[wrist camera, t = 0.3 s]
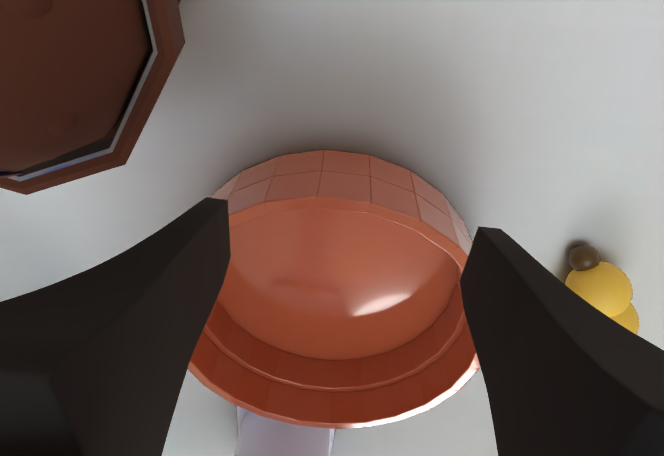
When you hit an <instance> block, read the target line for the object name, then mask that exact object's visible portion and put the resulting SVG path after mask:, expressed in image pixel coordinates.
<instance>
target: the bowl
mask: <svg viewBox="0 0 664 456" xmlns="http://www.w3.org/2000/svg"><path fill="white" fill-rule="evenodd" d="M211 198H216V199H225V200H228V213H229V232H230V251H231V257H230V261H229V265H228V268H227V272H226V275H225V279H224V282H223V285H222V288H221V290H220V293H219V295H218V297H217V299H216V302H215V304H214V306H213V309H212V311H211V313H210V315H209V318H208V320H207V322H206V324H205V327H204V329H203V331H202V333H201V336H200V338H199V340H198V342H197V345H196V347H195V349H194V352H193V354H192V357H191V359H190V362H189V365H188V368H187V369H188V370H189V371H190V372H191V373H192V374H193V375H194V376H195V377H196V378H197V379H198V380H199V381H200V382H201V383H202V384H203V385H204V386H206V387H207V388H209V389H210V390H212V391H213V392H215V393H216V394H218V395H219V396H221V397H222V398H224V399H225V400H227V401H228V402H231V403H232V404H234V405H237V406H239V407H241V408H243V409H246V410H248V411H250V412H253V413H255V414H257V415H260V416H262V417H266V418H270V419H274V420H277V421H281V422H285V423H289V424H293V425H299V426H308V427H317V428H327V429H330V428H331V429H340V428H364V427H370V426H376V425H381V424H386V423H391V422H396V421H401V420H403V419H406V418H409V417H411V416H414V415H416V414H419V413H422V412H424V411H427V410H429V409H432V408H433V407H435V406H436V405H438V404H439V403H441V402H443V401H444V400H446V399H447V398H449V397H450V396H452V395H454V394H455V393H457V392H458V391H459V390H460V389H461V388H462V387H463V386H464V385H465V384H466V383H467V381H468V380H469V379H470V378H471V377H472V376H473V375H474V374H475V373H476V372H477V371H478V370H479V368H480V363H479V360H478V357H477V353H476V350H475V347H474V343H473V340H472V337H471V333H470V330H469V326H468V323H467V320H466V316H465V312H464V308H463V301H462V295H461V287H460V278H461V275H462V272H463V270H464V267H465V264H466V261H467V258H468V255H469V253H470V250H471V247H472V241H471V239H470V236H469V233H468V230H467V228H466V225H465V223H464V221H463V220H462V218H461V217H460V216H459V214H458V213H457V212H456V211H455V209H454V208H453V207H452V205H451V204H450V203H449V201H448V200H447V199H446V197H445V196H444V195H443V194H442V193H441V192H440V191H438V190H437V189H435V188H434V187H433V186H431V185H430V184H428V183H427V182H426V181H424V180H423V179H421V178H420V177H419V176H417V175H416V174H415V173H413V172H412V171H409V170H408V169H405V168H403V167H400V166H397V165H395V164H392V163H389V162H387V161H384V160H381V159H379V158H376V157H373V156H371V155H366V154H358V153H349V152H340V151H332V150H318V151H310V152H303V153H295V154H287V155H281V156H278V157H276V158H273V159H271V160H268V161H266V162H263V163H261V164H258V165H256V166H253V167H251V168H249V169H246V170H244V171H241V172H240V173H239V174H237V175H236V176H235V177H234V178H232V179H231V180H230V181H229V182H227V183H226V184H225V185H224V186H222V187H221V188H220V189H219V190H217V191H216V192H215V193H214V194H213V195H212V197H211Z"/></svg>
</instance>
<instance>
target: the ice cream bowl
mask: <svg viewBox="0 0 664 456" xmlns="http://www.w3.org/2000/svg"><path fill="white" fill-rule="evenodd" d="M179 2H180V0H0V188H4V189H7V190H11V191H14V192H18V193H21V194H25V195H27V194H31V193H34V192H37V191H40V190H44V189H47V188H50V187H53V186H57V185H60V184H63V183H66V182H70V181H73V180H76V179H79V178H83V177H86V176H89V175H92V174H96V173H99V172H102V171H105V170H109V169H112V168H115V167H118V166H122V165H125V164H126V162H127V160H128V158H129V156H130V154H131V152H132V150H133V148H134V146H135V144H136V142H137V140H138V138H139V136H140V134H141V132H142V130H143V128H144V126H145V124H146V122H147V120H148V118H149V116H150V114H151V111H152V109H153V107H154V105H155V103H156V101H157V99H158V97H159V95H160V93H161V91H162V89H163V87H164V85H165V83H166V81H167V79H168V76H169V74H170V72H171V70H172V68H173V66H174V64H175V62H176V60H177V58H178V56H179V54H180V52H181V50H182V48H183V46H184V44H185V39H184V33H183V28H182V23H181V17H180V12H179V6H178V4H179Z"/></svg>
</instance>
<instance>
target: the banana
mask: <svg viewBox="0 0 664 456" xmlns="http://www.w3.org/2000/svg"><path fill="white" fill-rule="evenodd" d="M568 261H569V264H570V265H571V267H572V268H573V270H572V271H571V272H570V273H569V274H568V276H567V278H566V281H565V285H566V286H567V287H569V288H570V289H571V290H572V291H574V292H575V293H576V294H577V295H579V296H580V297H581V298H583V299H584V300H585V301H587V302H588V303H589V304H591V305H592V306H593V307H595V308H596V309H598V310H599V311H601V312H602V313H604V314H605V315H607V316H608V317H610V318H611V319H612V320H614V321H615V322H617V323H618V324H620V325H622V326H623V327H625V328H626V329H628V330H629V331H631V332H633V333H634V334H636V335H637V333H638V329H639V318H638V315H637V312H636V309H635V308H634V306H633V305H632V303H631V300H632V292H633V290H632V285H631V283H630V280H629V279H628V277H627V276H626V274H625V273H624V272H623V271H622V270H620V269H619V268H618V267H616V266H614V265H612V264H610V263H606V262H601V261H600V256H599V254H598V252H597V251H596V250H595V249H594V248H592V247H590V246H587V245H580V246H577V247H575V248H573V249H572V250H571V251H570V253H569V256H568Z"/></svg>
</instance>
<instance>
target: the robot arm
mask: <svg viewBox="0 0 664 456" xmlns="http://www.w3.org/2000/svg"><path fill="white" fill-rule="evenodd" d="M230 257H231V251H230V232H229V213H228V200H225V199H216V198H205V199H203V200H202V201H200V202H199V203H198V204H196V205H195V206H193V207H192V208H191V209H189V210H188V211H186V212H185V213H184V214H182V215H181V216H179V217H178V218H176V219H175V220H174V221H172V222H171V223H169V224H168V225H166V226H165V227H163V228H162V229H161V230H159V231H157V232H156V233H154V234H153V235H151V236H149V237H148V238H146V239H145V240H143V241H141V242H140V243H138V244H136V245H135V246H133V247H132V248H130V249H128V250H126V251H125V252H123V253H121V254H119V255H117V256H115V257H113V258H111V259H109V260H107V261H105V262H103V263H101V264H99V265H97V266H95V267H93V268H91V269H89V270H86V271H84V272H81V273H79V274H77V275H74V276H72V277H69V278H67V279H65V280H62V281H60V282H57V283H55V284H52V285H50V286H47V287H44V288H41V289H39V290H36V291H33V292H30V293H27V294H24V295H21V296H18V297H15V298H12V299H9V300H5V301H2V302H0V456H161V455H162V452H163V448H164V444H165V441H166V437H167V434H168V430H169V427H170V423H171V420H172V416H173V413H174V410H175V406H176V403H177V400H178V396H179V393H180V390H181V387H182V384H183V381H184V377H185V374H186V371H187V368H188V365H189V362H190V359H191V357H192V354H193V352H194V349H195V347H196V345H197V342H198V340H199V338H200V336H201V333H202V331H203V329H204V327H205V324H206V322H207V320H208V318H209V315H210V313H211V311H212V309H213V306H214V304H215V302H216V299H217V297H218V295H219V293H220V290H221V288H222V285H223V282H224V279H225V275H226V272H227V268H228V265H229V261H230ZM460 287H461V295H462V301H463V308H464V312H465V316H466V320H467V323H468V326H469V330H470V333H471V337H472V340H473V343H474V347H475V350H476V353H477V357H478V360H479V363H480V367H481V370H482V373H483V377H484V380H485V384H486V388H487V392H488V397H489V403H490V408H491V414H492V419H493V424H494V431H495V437H496V443H497V450H498V456H664V350H662V349H660V348H658V347H657V346H655V345H653V344H651V343H650V342H648V341H646V340H645V339H643V338H641V337H639V336H638V335H636V334H634V333H633V332H631V331H629V330H628V329H626V328H625V327H623V326H622V325H620V324H618V323H617V322H615V321H614V320H612V319H611V318H610V317H608V316H607V315H605V314H604V313H602V312H601V311H599V310H598V309H596V308H595V307H593V306H592V305H591V304H589V303H588V302H587V301H585V300H584V299H583V298H581V297H580V296H579V295H577V294H576V293H575V292H574V291H572V290H571V289H570V288H569V287H567V286H566V285H565V284H563V283H562V282H561V281H560V280H559V279H557V278H556V277H555V276H554V275H553V274H551V273H550V272H549V271H548V270H547V269H546V268H545V267H543V266H542V265H541V264H540V263H539V262H538V261H537V260H535V259H534V258H533V257H532V256H531V255H530V254H529V253H528V252H526V251H525V250H524V249H523V248H522V247H521V246H520V245H519V244H518V243H516V242H515V241H514V240H513V239H512V238H511V237H509V236H508V235H507V234H506V233H505V232H503V231H502V230H501V229H496V228H487V227H478V230H477V233H476V235H475V238H474V241H473V244H472V247H471V250H470V253H469V255H468V258H467V261H466V264H465V267H464V270H463V272H462V275H461V278H460ZM237 420H238V442H237V446H236V450H235V454H234V456H330V454H331V449H332V443H333V438H334V433H335V429H331V428H330V429H327V428H317V427H308V426H299V425H293V424H289V423H285V422H281V421H277V420H274V419H270V418H266V417H262V416H260V415H257V414H255V413H253V412H250V411H248V410H246V409H243V408H241V407H239V406H237Z"/></svg>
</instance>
